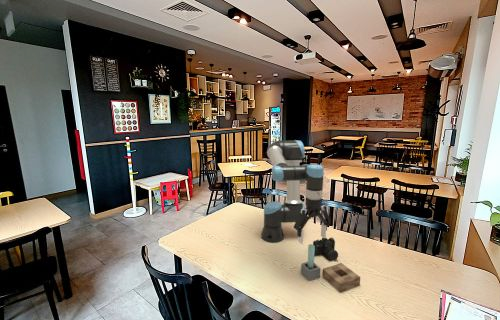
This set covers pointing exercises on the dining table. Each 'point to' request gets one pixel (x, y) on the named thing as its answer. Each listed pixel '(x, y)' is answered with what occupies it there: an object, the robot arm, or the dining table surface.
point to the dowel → (311, 256)
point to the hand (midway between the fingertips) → (312, 239)
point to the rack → (341, 277)
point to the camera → (326, 248)
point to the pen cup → (310, 272)
